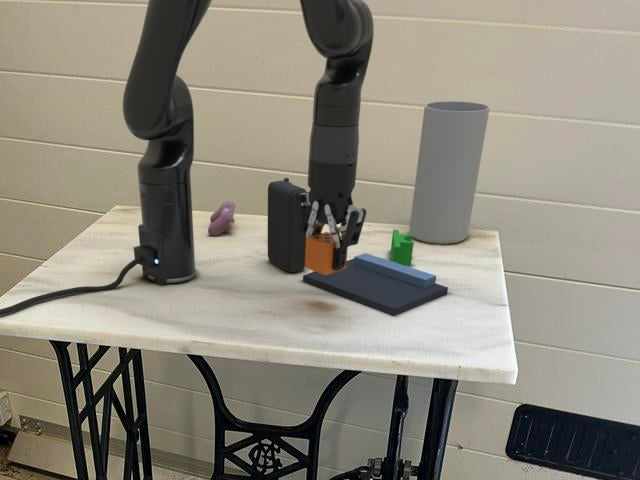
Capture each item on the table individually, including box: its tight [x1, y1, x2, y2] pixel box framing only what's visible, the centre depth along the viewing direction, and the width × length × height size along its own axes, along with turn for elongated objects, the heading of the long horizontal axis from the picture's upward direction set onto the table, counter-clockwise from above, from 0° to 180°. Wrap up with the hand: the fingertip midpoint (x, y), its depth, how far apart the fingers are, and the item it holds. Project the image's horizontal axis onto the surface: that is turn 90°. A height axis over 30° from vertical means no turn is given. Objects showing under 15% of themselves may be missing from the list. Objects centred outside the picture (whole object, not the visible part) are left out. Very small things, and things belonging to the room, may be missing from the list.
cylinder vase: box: [408, 100, 491, 245], centre depth 151 cm, size 12×12×25 cm
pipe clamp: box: [390, 229, 414, 267], centre depth 145 cm, size 11×4×5 cm, turn 173°
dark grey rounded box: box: [267, 180, 307, 273], centre depth 139 cm, size 9×4×15 cm, turn 31°
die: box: [304, 231, 349, 275], centre depth 122 cm, size 5×5×5 cm
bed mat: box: [302, 252, 449, 316], centre depth 133 cm, size 15×22×3 cm
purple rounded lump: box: [207, 200, 236, 236], centre depth 161 cm, size 10×5×7 cm, turn 179°
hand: (325, 264), depth 123 cm, fingers closed on die, 5 cm apart
